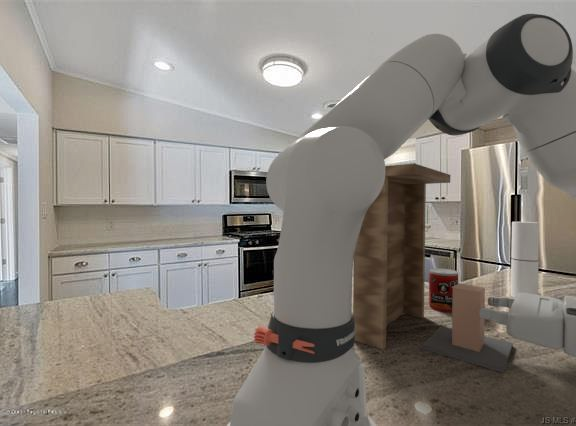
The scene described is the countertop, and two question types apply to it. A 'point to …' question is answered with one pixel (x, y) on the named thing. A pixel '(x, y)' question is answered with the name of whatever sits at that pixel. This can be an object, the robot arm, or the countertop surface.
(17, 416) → the countertop surface
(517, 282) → the cylindrical container
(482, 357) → the mat
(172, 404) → the countertop surface
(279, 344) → the robot arm
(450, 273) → the canned food
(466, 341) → the block
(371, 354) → the countertop surface
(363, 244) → the shelf
